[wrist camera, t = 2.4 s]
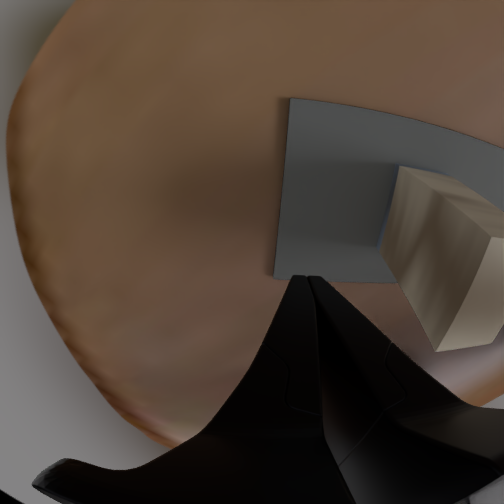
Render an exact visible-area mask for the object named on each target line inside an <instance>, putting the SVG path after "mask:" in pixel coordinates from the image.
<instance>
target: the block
mask: <svg viewBox="0 0 504 504" xmlns="http://www.w3.org/2000/svg"><path fill="white" fill-rule="evenodd" d="M376 248H377V249H378V251H379V252H380V254H381V256H382V257H383V259H384V261H385V262H386V264H387V265H388V267H389V269H390V270H391V272H392V274H393V275H394V277H395V279H396V280H397V282H398V284H399V286H400V287H401V289H402V291H403V292H404V294H405V296H406V298H407V299H408V301H409V303H410V305H411V307H412V308H413V310H414V312H415V314H416V316H417V318H418V319H419V321H420V323H421V325H422V327H423V329H424V331H425V333H426V335H427V337H428V339H429V341H430V343H431V345H432V347H433V349H434V351H435V352H440V351H447V350H454V349H461V348H468V347H474V346H480V345H485V344H491V343H492V342H493V340H494V339H495V337H496V336H497V334H498V332H499V331H500V329H501V328H502V326H503V324H504V212H503V211H501V210H500V209H499V208H497V207H496V206H495V205H493V204H492V203H491V202H489V201H488V200H486V199H485V198H483V197H482V196H481V195H479V194H478V193H476V192H475V191H473V190H472V189H470V188H469V187H467V186H466V185H464V184H463V183H461V182H459V181H458V180H456V179H455V178H453V177H452V176H450V175H448V174H447V173H442V172H438V171H433V170H428V169H424V168H419V167H414V166H408V165H403V164H398V163H396V164H395V169H394V174H393V179H392V184H391V189H390V193H389V198H388V202H387V207H386V211H385V215H384V219H383V223H382V227H381V231H380V235H379V239H378V242H377V246H376Z"/></svg>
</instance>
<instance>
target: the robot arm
mask: <svg viewBox="0 0 504 504" xmlns="http://www.w3.org/2000/svg"><path fill="white" fill-rule="evenodd" d="M32 486H33V487H34V488H35V489H37V490H38V491H40V492H41V493H43V494H45V495H47V496H49V497H50V498H52V499H54V500H56V501H58V502H60V503H62V504H504V409H494V408H482V407H477V406H473V405H470V404H468V403H466V402H464V401H462V400H461V399H460V398H458V397H457V396H456V395H454V394H453V393H452V392H451V391H449V390H448V389H447V388H446V387H444V386H443V385H442V384H441V383H439V382H438V381H437V380H436V379H434V378H433V377H432V376H431V375H429V374H428V373H427V372H426V371H424V370H423V369H422V368H421V367H420V366H418V365H417V364H416V363H415V362H413V361H412V360H411V359H410V358H409V357H408V356H407V355H406V354H405V353H404V352H402V351H401V350H400V349H399V348H398V347H397V346H396V345H395V344H394V343H391V340H390V339H389V338H388V337H386V336H385V335H384V334H383V333H382V332H381V331H380V330H379V329H378V328H377V327H376V326H375V325H374V324H373V323H372V322H370V321H369V320H368V319H367V318H366V317H365V316H364V315H363V314H362V313H361V312H360V311H359V310H357V309H356V308H355V307H354V306H353V305H352V304H351V303H350V302H349V301H348V300H347V299H346V298H344V297H343V296H342V295H341V294H340V293H339V292H338V291H337V290H336V289H335V288H333V287H332V286H331V285H330V284H329V283H328V282H327V281H326V280H325V279H324V278H322V277H321V276H313V275H308V276H307V277H306V276H305V275H292V277H291V279H290V282H289V284H288V286H287V289H286V291H285V293H284V295H283V298H282V300H281V302H280V304H279V307H278V309H277V311H276V313H275V316H274V318H273V320H272V322H271V325H270V327H269V329H268V331H267V333H266V336H265V338H264V340H263V342H262V345H261V346H260V348H259V350H258V352H257V354H256V356H255V358H254V360H253V362H252V364H251V366H250V368H249V369H248V371H247V372H246V374H245V375H244V377H243V378H242V380H241V381H240V383H239V384H238V386H237V387H236V388H235V390H234V391H233V392H232V394H231V395H230V396H229V398H228V399H227V400H226V402H225V403H224V404H223V406H222V407H221V408H220V410H219V411H218V412H217V414H216V415H215V416H214V417H213V419H212V420H211V421H210V422H209V423H208V424H207V426H206V427H205V428H204V429H202V430H201V431H200V432H199V433H198V434H197V435H195V436H194V437H192V438H190V439H189V440H187V441H185V442H184V443H182V444H180V445H179V446H177V447H175V448H173V449H172V450H170V451H168V452H166V453H165V454H163V455H161V456H159V457H158V458H156V459H154V460H152V461H150V462H149V463H146V464H145V465H142V466H140V467H137V468H133V469H128V470H111V469H106V468H101V467H98V466H95V465H92V464H89V463H86V462H82V461H79V460H75V459H69V458H64V459H61V460H59V461H57V462H56V463H54V464H52V465H51V466H49V467H48V468H46V469H45V470H43V471H42V472H41V473H40V474H39V475H38V476H37V477H36V479H35V480H34V481H33V482H32ZM0 504H24V503H22V502H21V501H19V500H17V499H16V498H14V497H12V496H10V495H9V494H7V493H5V492H4V491H2V490H1V489H0Z"/></svg>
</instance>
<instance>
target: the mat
mask: <svg viewBox="0 0 504 504" xmlns="http://www.w3.org/2000/svg"><path fill="white" fill-rule="evenodd" d="M396 163H398V164H403V165H408V166H414V167H419V168H424V169H428V170H433V171H438V172H442V173H447V174H448V175H450V176H452V177H453V178H455V179H456V180H458V181H459V182H461V183H463V184H464V185H466V186H467V187H469V188H470V189H472V190H473V191H475V192H476V193H478V194H479V195H481V196H482V197H483V198H485V199H486V200H488V201H489V202H491V203H492V204H493V205H495V206H496V207H497V208H499V209H500V210H501V211H503V212H504V149H502V148H499V147H497V146H494V145H492V144H489V143H487V142H484V141H481V140H479V139H476V138H473V137H470V136H467V135H464V134H461V133H458V132H455V131H452V130H449V129H446V128H442V127H439V126H436V125H432V124H429V123H425V122H421V121H418V120H414V119H410V118H406V117H402V116H397V115H393V114H389V113H384V112H379V111H375V110H370V109H364V108H359V107H353V106H348V105H341V104H335V103H328V102H321V101H313V100H305V99H295V98H290V104H289V117H288V129H287V141H286V153H285V164H284V175H283V185H282V196H281V206H280V216H279V226H278V235H277V245H276V254H275V263H274V272H273V279H279V280H290V279H291V277H292V275H305V276H306V277H307V276H308V275H313V276H321V277H322V278H324V279H325V280H326V281H331V282H364V283H398V282H397V280H396V279H395V277H394V275H393V274H392V272H391V270H390V269H389V267H388V265H387V264H386V262H385V261H384V259H383V257H382V256H381V254H380V252H379V251H378V249H377V248H376V246H377V242H378V239H379V235H380V231H381V227H382V223H383V219H384V215H385V211H386V207H387V202H388V198H389V193H390V189H391V184H392V179H393V174H394V169H395V164H396Z"/></svg>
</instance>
